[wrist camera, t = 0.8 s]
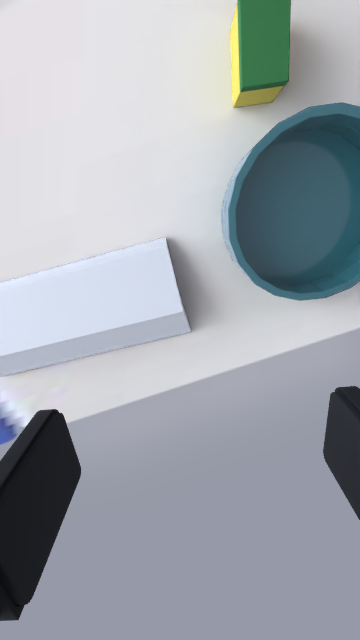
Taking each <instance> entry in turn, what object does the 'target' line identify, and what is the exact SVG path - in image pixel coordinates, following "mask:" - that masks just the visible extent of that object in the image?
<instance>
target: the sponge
mask: <svg viewBox="0 0 360 640" xmlns="http://www.w3.org/2000/svg"><path fill="white" fill-rule="evenodd" d="M290 9H291V0H238V2H237V6H236V10H235V14H234V18H233V22H232V26H231V30H230V38H231V65H232V93H233V108H235V107H242V106H249V105H256V104H262V103H269V102H273V100H274V99H275V98H276V97H277V95H278V94H279V93H280V91H281V90H282V89H283V87H284V86H285V85H286V83H287V82H288V81H289V49H290Z"/></svg>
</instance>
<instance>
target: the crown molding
mask: <svg viewBox="0 0 360 640" xmlns="http://www.w3.org/2000/svg"><path fill="white" fill-rule="evenodd" d="M188 332H191V329H190V326H189V322H188V318H187V316H186V313H185V309H184V306H183V304H182V300H181V296H180V293H179V289H178V286H177V282H176V278H175V274H174V269H173V265H172V260H171V256H170V252H169V249H168V245H167V241H166V237H163V238H160V239H156V240H152V241H149V242H145V243H142V244H138V245H134V246H131V247H127V248H124V249H120V250H116V251H113V252H109V253H106V254H102V255H98V256H95V257H91V258H88V259H84V260H80V261H77V262H73V263H69V264H66V265H62V266H59V267H55V268H51V269H48V270H44V271H41V272H37V273H33V274H30V275H26V276H23V277H19V278H15V279H12V280H8V281H5V282H1V283H0V377H2V376H6V375H10V374H14V373H19V372H23V371H27V370H31V369H36V368H40V367H44V366H48V365H53V364H57V363H61V362H65V361H70V360H74V359H78V358H82V357H86V356H91V355H95V354H99V353H103V352H108V351H112V350H116V349H120V348H125V347H129V346H133V345H137V344H142V343H146V342H150V341H154V340H159V339H163V338H167V337H171V336H175V335H180V334H184V333H188Z"/></svg>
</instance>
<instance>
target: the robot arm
mask: <svg viewBox="0 0 360 640" xmlns="http://www.w3.org/2000/svg"><path fill="white" fill-rule="evenodd" d="M325 434H326V435H325V441H324V449H323V453H324V458H325V461H326V463H327V465H328V467H329V468H330V470H331V472H332V473H333V475H334V477H335V479H336V480H337V482H338V484H339V485H340V487H341V489H342V491H343V492H344V494H345V496H346V498H347V499H348V501H349V503H350V505H351V506H352V508H353V510H354V511H355V513H356V515H357V517H358V518H359V520H360V389H359V388H358V387H356V386H350V387H338V388H336V390H335V392H332V393H331V395H330V402H329V411H328V418H327V427H326V433H325ZM80 475H81V467H80V463H79V460H78V457H77V454H76V452H75V449H74V445H73V442H72V439H71V436H70V433H69V430H68V428H67V424H66V421H65V418H64V416H63V414H62V413H59V412H58V410H56V409H52V410H40V411H38V412H37V413H36V414H35V415H34V417H33V418H32V419H31V421H30V422H29V423H28V425H27V426H26V427H25V429H24V430H23V431H22V433H21V434H20V435H19V437H18V438H17V440H16V441H15V442H14V443H13V445H12V446H11V448H10V449H9V450H8V451H7V453H6V454H5V455H4V457H3V458H2V459H1V461H0V621H3V620H4V621H6V620H19V617H20V615H21V612H22V610H23V608H24V605H25V604H28V603H29V602H30V600H31V599H32V597H33V595H34V592H35V590H36V587H37V585H38V582H39V580H40V577H41V575H42V572H43V570H44V567H45V565H46V562H47V559H48V557H49V554H50V552H51V549H52V547H53V544H54V542H55V539H56V537H57V534H58V532H59V529H60V527H61V524H62V521H63V519H64V517H65V514H66V512H67V509H68V507H69V504H70V501H71V499H72V496H73V494H74V491H75V489H76V486H77V484H78V481H79V479H80Z"/></svg>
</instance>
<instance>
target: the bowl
mask: <svg viewBox="0 0 360 640" xmlns="http://www.w3.org/2000/svg"><path fill="white" fill-rule="evenodd" d="M222 230H223V236H224V240H225V244H226V246H227V249H228V251H229V253H230V256H231V258H232V260H233V261H234V262H235V263H236V264H237V266H238V267H239V268H240V269H241V270H242V272H243V273H244V274H245V275H246V276H247V277H248V278H249V279H250V280H251V281H252V282H253V283H255V284H256V285H258V286H260V287H261V288H263V289H265V290H266V291H268V292H270V293H271V294H273V295H275V296H279V297H284V298H289V299H294V300H310V299H319V298H327V297H329V296H332V295H334V294H337V293H339V292H342V291H344V290H347V289H349V288H351V287H353V286H354V285H355V284H357V283H358V282H360V107H358V106H354V105H350V104H346V103H334V104H327V105H320V106H313V107H309V108H306V109H304V110H303V111H301V112H299V113H297V114H295V115H293V116H291V117H289V118H287V119H285V120H283V121H282V122H280V123H278V124H277V125H276V126H275V127H274V128H273V129H272V130H271V131H270V132H269V133H268V134H267V135H265V136H264V137H263V138H262V139H261V140H260V141H259V142H258V143H257V144H256V145H255V146H254V147H253V148H252V149H251V150H250V151H249V152H248V153H247V154H246V155H245V156H244V157H243V159H242V160H241V162H240V164H239V166H238V167H237V169H236V170H235V172H234V174H233V176H232V178H231V180H230V182H229V184H228V187H227V190H226V193H225V197H224V201H223V208H222Z"/></svg>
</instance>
